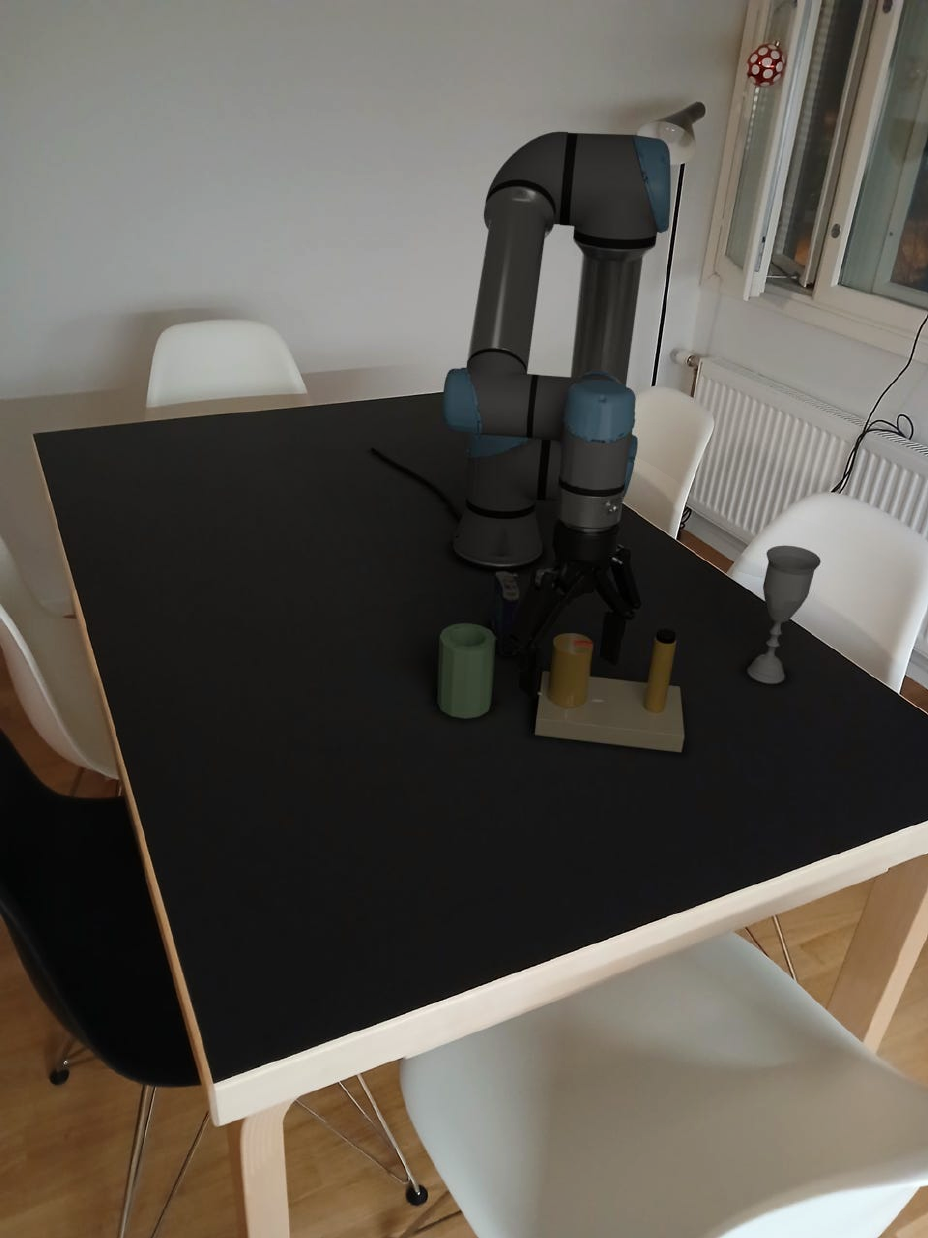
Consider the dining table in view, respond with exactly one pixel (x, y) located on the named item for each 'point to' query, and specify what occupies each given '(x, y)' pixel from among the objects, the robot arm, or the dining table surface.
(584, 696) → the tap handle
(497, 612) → the flask
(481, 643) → the sleeve
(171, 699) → the dining table surface
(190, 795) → the dining table surface
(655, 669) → the brown tall cylinder
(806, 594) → the chalice
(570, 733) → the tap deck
